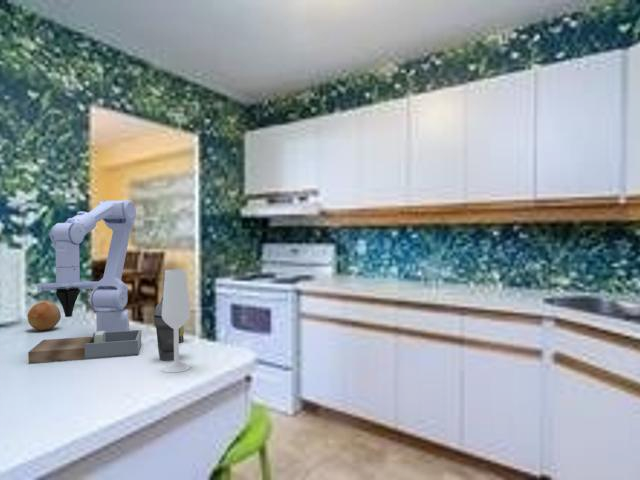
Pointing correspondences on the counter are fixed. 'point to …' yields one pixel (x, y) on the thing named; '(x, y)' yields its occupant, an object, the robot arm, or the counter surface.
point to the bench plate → (59, 350)
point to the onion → (44, 315)
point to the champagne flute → (175, 311)
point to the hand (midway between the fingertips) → (68, 316)
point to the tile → (99, 337)
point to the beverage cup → (164, 335)
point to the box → (115, 345)
